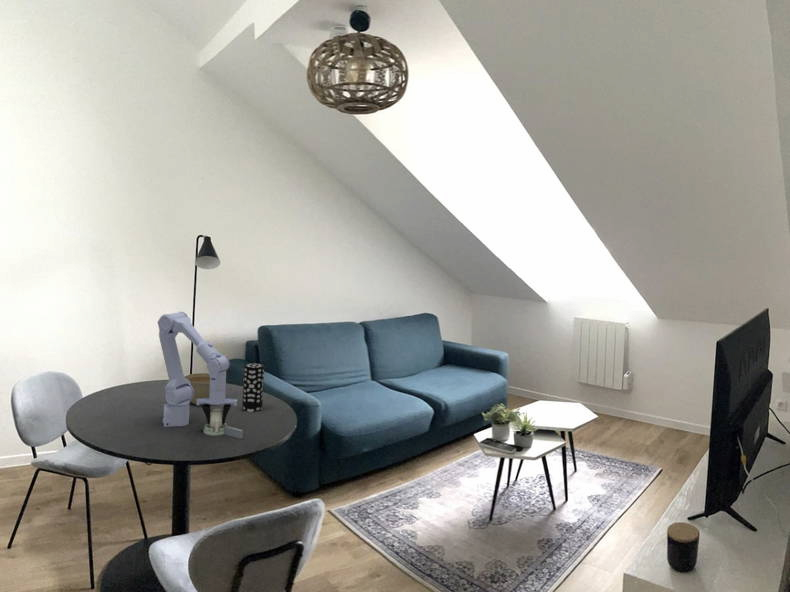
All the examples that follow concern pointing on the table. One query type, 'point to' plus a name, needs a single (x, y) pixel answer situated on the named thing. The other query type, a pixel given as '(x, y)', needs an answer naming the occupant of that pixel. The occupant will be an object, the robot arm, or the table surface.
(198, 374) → the planter bowl
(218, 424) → the cream round-ended cylinder
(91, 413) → the table surface
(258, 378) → the spotted tube
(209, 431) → the turntable
